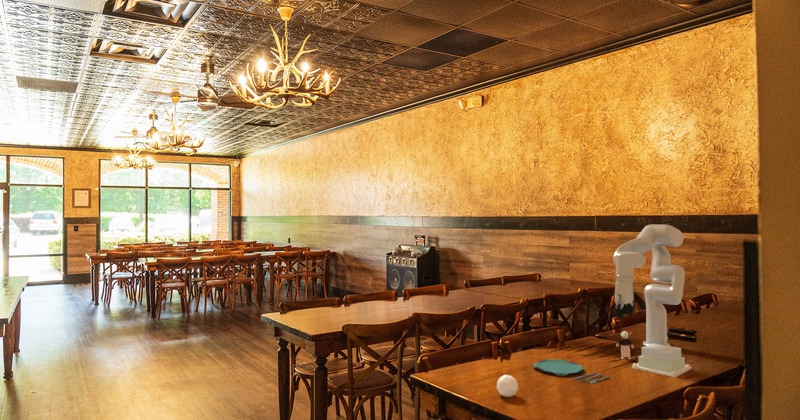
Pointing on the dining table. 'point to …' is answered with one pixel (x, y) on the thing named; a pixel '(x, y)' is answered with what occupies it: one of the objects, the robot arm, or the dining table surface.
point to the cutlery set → (564, 369)
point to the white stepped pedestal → (662, 360)
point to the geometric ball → (507, 386)
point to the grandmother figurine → (625, 345)
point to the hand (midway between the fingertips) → (624, 315)
